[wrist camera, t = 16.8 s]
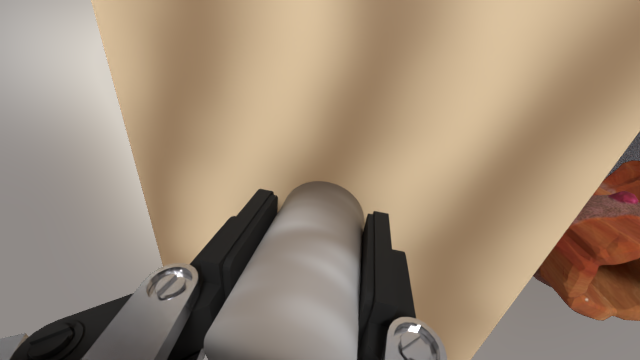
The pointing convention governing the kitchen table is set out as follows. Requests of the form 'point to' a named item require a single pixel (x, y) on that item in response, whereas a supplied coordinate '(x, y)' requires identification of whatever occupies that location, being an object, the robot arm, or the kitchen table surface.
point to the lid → (372, 147)
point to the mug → (601, 251)
